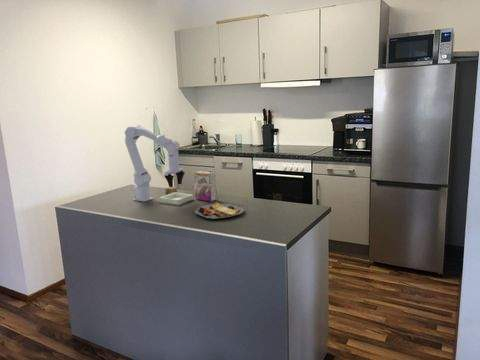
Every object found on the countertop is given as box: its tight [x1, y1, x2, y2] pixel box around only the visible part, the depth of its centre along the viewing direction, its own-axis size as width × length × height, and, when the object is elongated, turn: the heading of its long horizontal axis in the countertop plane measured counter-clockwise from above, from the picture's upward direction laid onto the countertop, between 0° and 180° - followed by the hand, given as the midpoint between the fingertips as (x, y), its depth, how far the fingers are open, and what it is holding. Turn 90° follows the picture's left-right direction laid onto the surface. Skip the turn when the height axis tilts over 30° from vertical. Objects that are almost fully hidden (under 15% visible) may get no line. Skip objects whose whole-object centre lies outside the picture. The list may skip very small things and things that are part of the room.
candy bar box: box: [194, 170, 217, 202], centre depth 232 cm, size 11×5×16 cm, turn 58°
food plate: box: [194, 201, 245, 220], centre depth 205 cm, size 25×23×4 cm
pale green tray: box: [158, 191, 194, 206], centre depth 232 cm, size 14×14×3 cm
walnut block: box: [164, 186, 178, 195], centre depth 246 cm, size 5×5×5 cm
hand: (175, 185), depth 231 cm, fingers open, 7 cm apart
